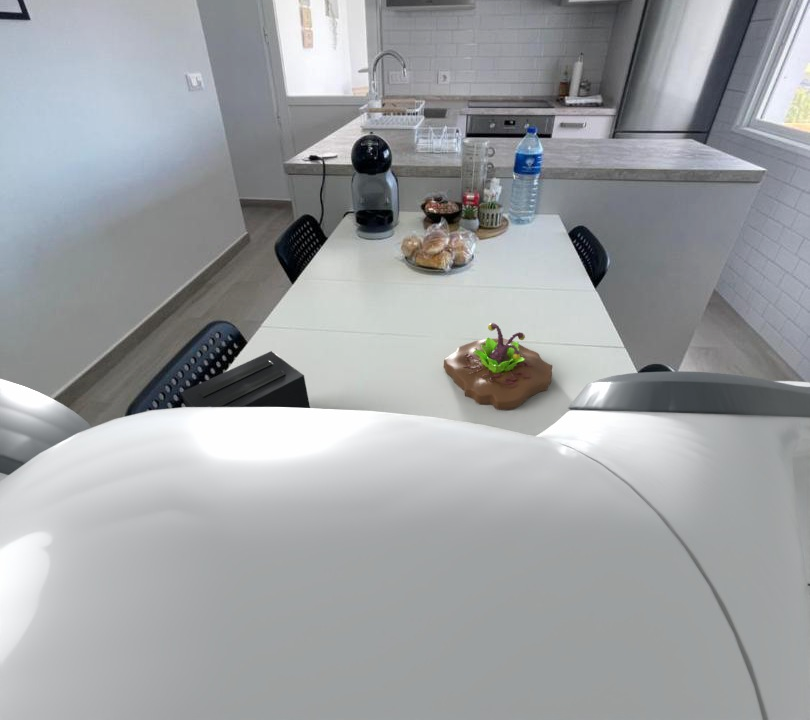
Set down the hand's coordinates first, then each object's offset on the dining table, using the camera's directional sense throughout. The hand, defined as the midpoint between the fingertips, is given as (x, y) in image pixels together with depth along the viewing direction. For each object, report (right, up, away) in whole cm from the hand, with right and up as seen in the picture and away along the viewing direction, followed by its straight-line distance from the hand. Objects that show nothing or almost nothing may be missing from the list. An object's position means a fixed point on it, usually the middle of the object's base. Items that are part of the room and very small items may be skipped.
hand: (479, 513), depth 44 cm
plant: (+11, +12, +48) cm, 50 cm away
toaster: (-33, +1, +33) cm, 47 cm away
